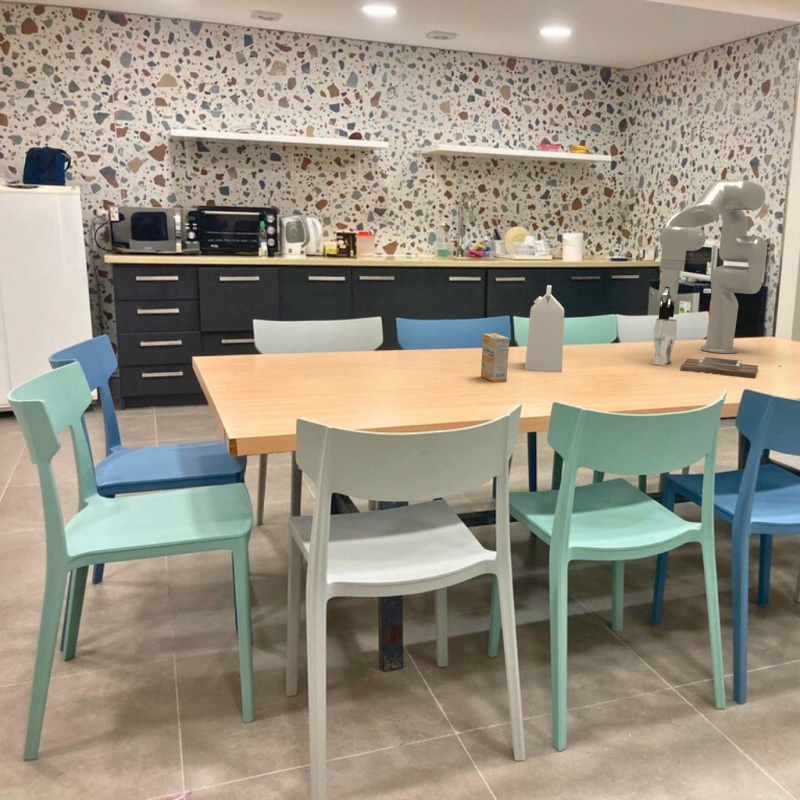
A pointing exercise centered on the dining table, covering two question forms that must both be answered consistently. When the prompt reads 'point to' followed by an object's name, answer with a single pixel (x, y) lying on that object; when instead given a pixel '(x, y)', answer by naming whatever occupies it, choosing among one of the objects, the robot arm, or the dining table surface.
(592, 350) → the dining table surface
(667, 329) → the beer glass
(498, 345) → the supplement box
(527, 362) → the milk
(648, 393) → the dining table surface
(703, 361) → the walnut board
